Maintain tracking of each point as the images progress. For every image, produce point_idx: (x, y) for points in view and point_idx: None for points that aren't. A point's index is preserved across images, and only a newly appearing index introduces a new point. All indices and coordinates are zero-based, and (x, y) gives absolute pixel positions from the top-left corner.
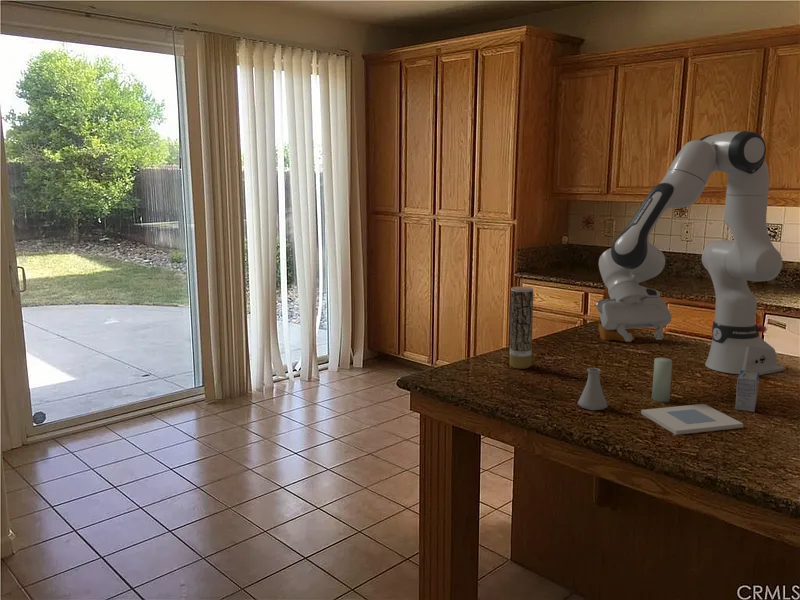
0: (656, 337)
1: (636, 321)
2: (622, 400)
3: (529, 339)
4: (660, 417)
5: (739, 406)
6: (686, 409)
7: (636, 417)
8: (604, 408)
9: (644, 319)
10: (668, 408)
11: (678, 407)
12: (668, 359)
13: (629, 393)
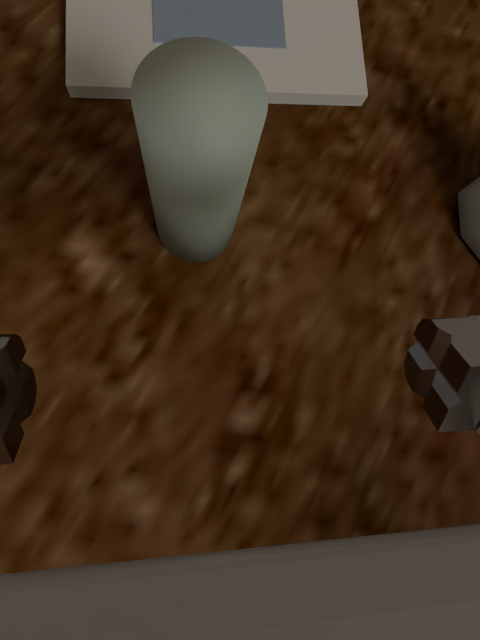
0: (26, 391)
1: (445, 545)
2: (363, 255)
3: None
4: (335, 13)
5: None
6: None
7: (394, 81)
8: (477, 178)
9: (163, 631)
10: None
11: None
12: (150, 97)
13: (290, 333)
